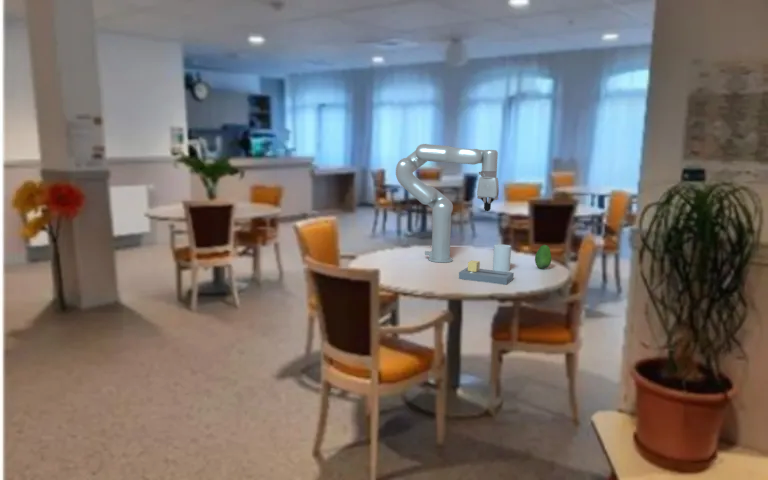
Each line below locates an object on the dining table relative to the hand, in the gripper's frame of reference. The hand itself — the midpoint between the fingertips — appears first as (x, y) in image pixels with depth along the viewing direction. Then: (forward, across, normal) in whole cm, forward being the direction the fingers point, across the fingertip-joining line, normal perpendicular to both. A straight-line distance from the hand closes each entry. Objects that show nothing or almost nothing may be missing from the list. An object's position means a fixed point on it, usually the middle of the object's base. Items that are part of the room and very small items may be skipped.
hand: (487, 210), depth 295 cm
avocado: (+27, +29, +2) cm, 40 cm away
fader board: (+27, +11, -34) cm, 45 cm away
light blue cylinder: (+27, +12, -12) cm, 32 cm away
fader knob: (+24, +5, -34) cm, 42 cm away
